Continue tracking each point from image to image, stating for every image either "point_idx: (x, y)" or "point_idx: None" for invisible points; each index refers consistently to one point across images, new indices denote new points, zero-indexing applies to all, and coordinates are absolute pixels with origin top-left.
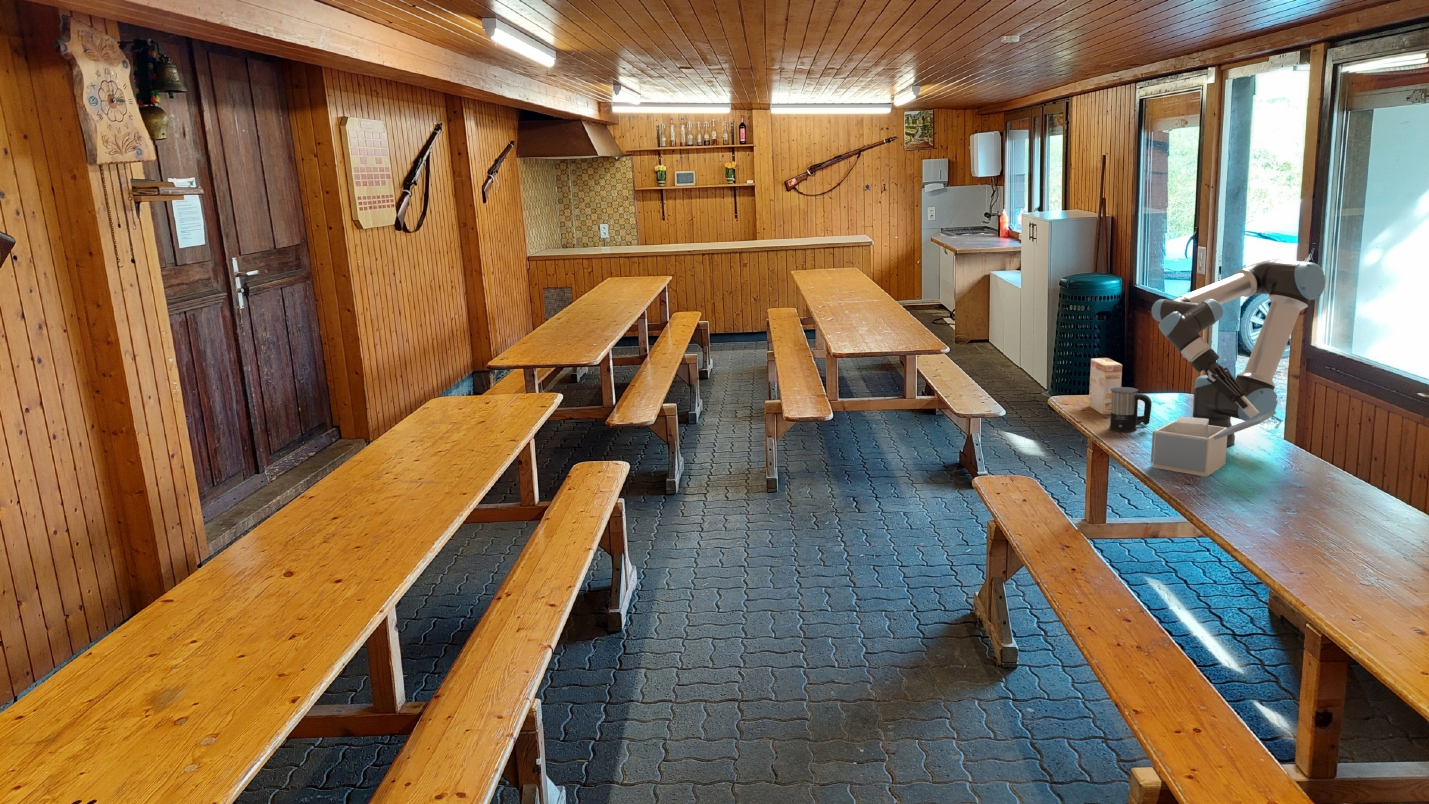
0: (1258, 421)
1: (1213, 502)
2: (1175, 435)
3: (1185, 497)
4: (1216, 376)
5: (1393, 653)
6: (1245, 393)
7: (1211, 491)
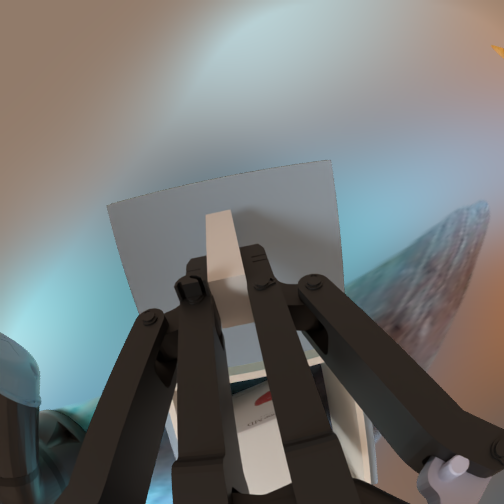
0: (330, 163)
1: (443, 231)
2: (366, 442)
3: (457, 278)
4: (477, 440)
5: (496, 51)
6: (196, 275)
7: (401, 268)
